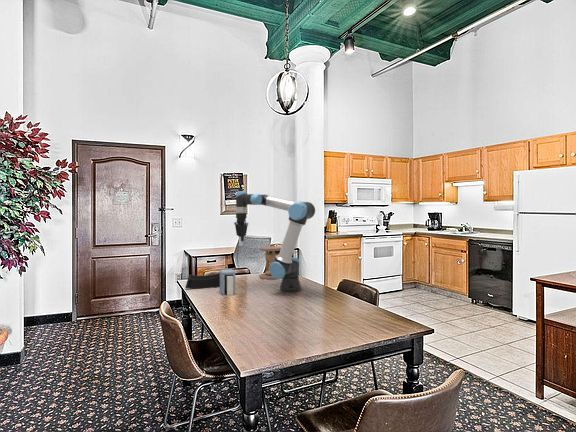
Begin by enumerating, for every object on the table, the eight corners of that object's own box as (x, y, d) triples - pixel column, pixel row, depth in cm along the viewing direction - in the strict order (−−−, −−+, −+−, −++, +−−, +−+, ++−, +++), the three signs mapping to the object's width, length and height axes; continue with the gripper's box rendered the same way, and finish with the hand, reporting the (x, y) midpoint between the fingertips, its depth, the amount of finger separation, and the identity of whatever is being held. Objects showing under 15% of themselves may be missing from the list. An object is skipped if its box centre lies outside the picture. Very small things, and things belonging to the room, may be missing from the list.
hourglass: (257, 276, 308) (258, 246, 307) (278, 275, 312) (278, 245, 311) (261, 280, 291) (261, 248, 290) (282, 279, 295) (283, 248, 294)
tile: (233, 294, 244) (233, 276, 243) (227, 295, 242) (227, 277, 242) (230, 290, 256) (230, 273, 256) (224, 290, 255) (224, 273, 254)
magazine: (182, 277, 255) (223, 262, 265) (181, 276, 258) (222, 262, 268) (189, 300, 258) (229, 284, 268) (189, 299, 261) (228, 283, 271)
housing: (235, 294, 245) (235, 272, 244) (222, 295, 242) (222, 273, 242) (231, 289, 258) (231, 269, 257) (219, 290, 255) (219, 269, 255)
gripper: (231, 212, 265) (231, 245, 265) (243, 213, 256) (243, 246, 257) (239, 212, 270) (239, 244, 271) (251, 213, 261) (251, 245, 262)
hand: (241, 245), depth 264 cm, fingers closed
